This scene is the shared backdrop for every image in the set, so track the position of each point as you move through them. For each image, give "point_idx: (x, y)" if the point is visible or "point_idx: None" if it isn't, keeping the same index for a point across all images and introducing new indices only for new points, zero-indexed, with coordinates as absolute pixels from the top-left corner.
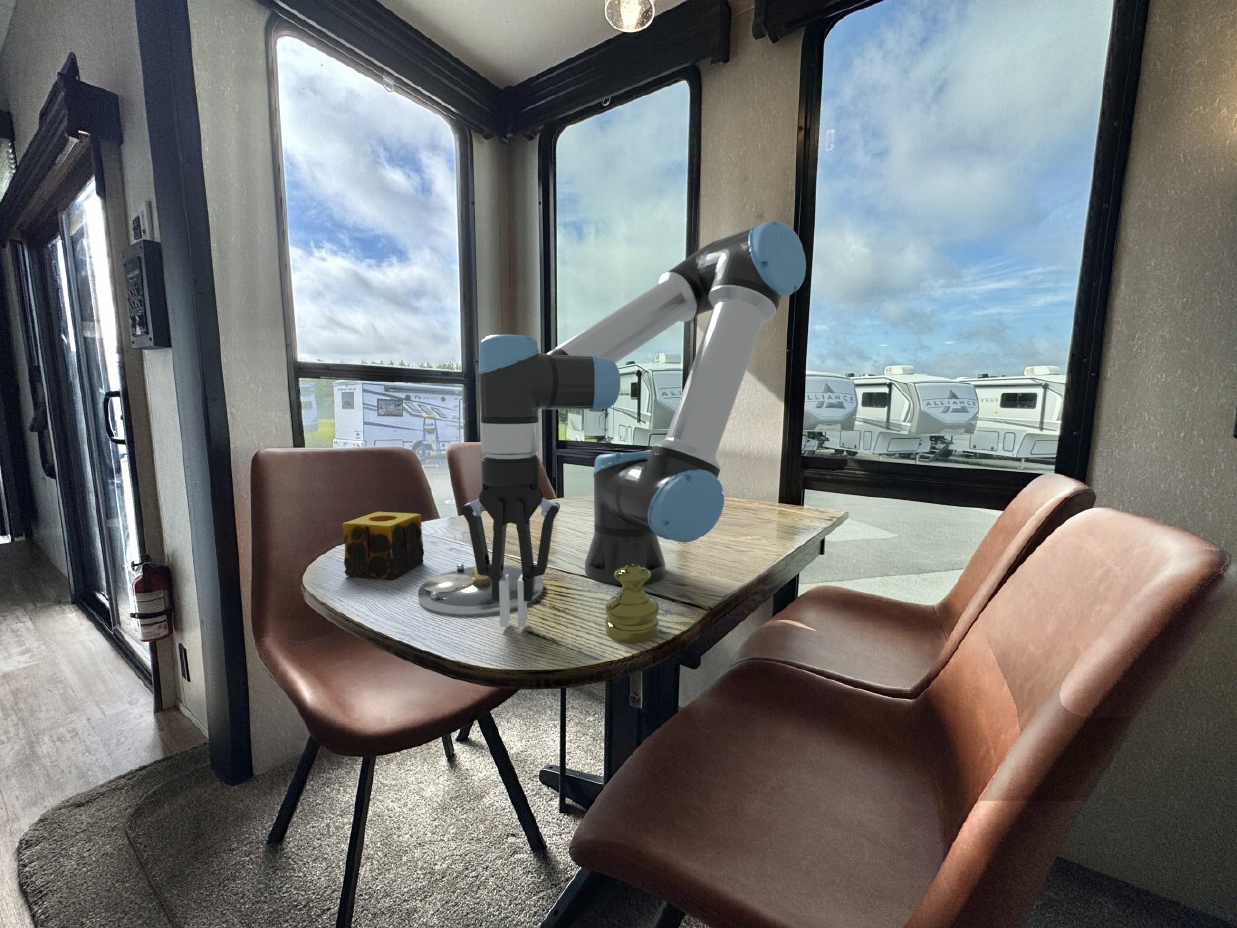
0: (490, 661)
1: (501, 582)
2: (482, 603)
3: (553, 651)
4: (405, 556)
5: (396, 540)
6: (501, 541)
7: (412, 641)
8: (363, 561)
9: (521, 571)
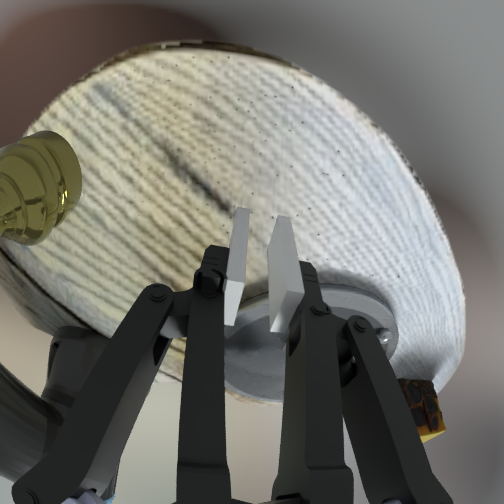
0: (313, 103)
1: (297, 288)
2: None
3: (176, 119)
4: None
5: None
6: (307, 424)
7: (431, 224)
8: (424, 396)
9: (241, 386)
